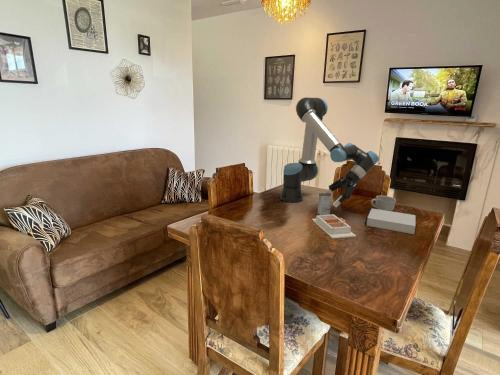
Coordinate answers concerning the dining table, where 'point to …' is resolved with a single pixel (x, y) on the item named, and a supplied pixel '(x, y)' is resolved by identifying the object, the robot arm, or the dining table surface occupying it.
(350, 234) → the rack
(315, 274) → the dining table surface
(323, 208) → the panel
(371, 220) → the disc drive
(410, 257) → the dining table surface
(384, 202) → the teacup
